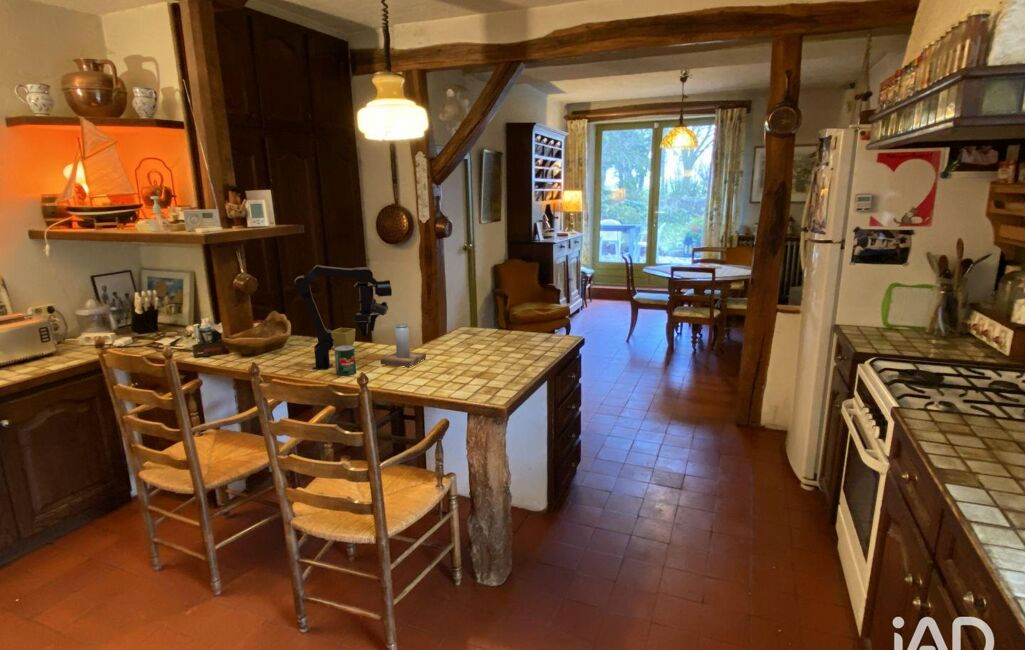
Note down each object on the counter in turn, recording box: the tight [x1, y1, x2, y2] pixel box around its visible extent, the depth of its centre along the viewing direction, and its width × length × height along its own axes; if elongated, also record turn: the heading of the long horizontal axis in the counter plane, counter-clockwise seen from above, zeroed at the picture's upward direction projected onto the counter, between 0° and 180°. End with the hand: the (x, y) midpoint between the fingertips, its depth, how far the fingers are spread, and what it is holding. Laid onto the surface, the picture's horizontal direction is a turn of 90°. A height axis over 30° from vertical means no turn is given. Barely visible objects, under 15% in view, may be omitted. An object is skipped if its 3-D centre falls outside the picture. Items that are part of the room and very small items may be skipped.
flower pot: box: [330, 327, 356, 348], centre depth 268 cm, size 9×9×9 cm
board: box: [380, 351, 427, 368], centre depth 247 cm, size 14×14×3 cm
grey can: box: [394, 323, 411, 358], centre depth 245 cm, size 6×6×14 cm
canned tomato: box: [333, 345, 357, 377], centre depth 230 cm, size 8×8×11 cm
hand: (369, 333), depth 243 cm, fingers open, 9 cm apart
